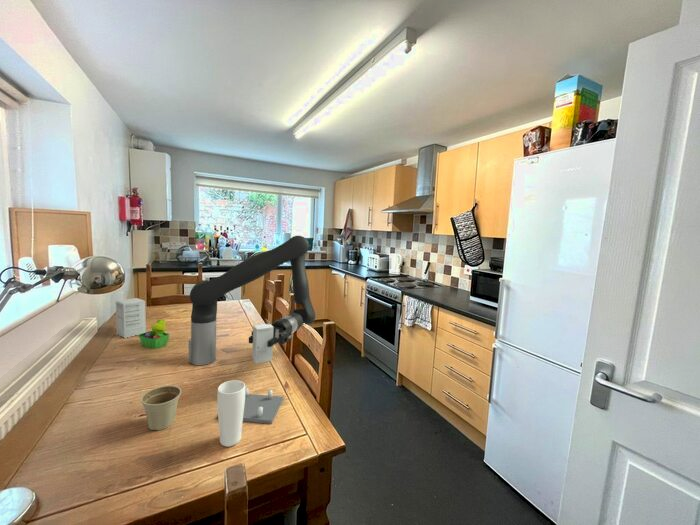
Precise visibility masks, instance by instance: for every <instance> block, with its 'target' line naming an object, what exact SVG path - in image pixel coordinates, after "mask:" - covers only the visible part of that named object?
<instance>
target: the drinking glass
mask: <svg viewBox="0 0 700 525" xmlns="http://www.w3.org/2000/svg"><path fill="white" fill-rule="evenodd" d="M245 388H246V384H245V382H243V381H242V380H237V379H236V380H232V379H231V380H228V381H227V380H226V381H225V382H222V383H221V384H219V386H218V387H217V392H216V394H217V395H216V404H217V405H216V406H217V407H216V408H217V419H218V420H217V421H218V430H219V443H220V445H221V446H223V447H228V448H229V447H233V446H235V445H237V444H238V443H240V441H241V439H242V434H243V423H244V421H243V415H244V406H245Z"/></svg>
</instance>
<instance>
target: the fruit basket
mask: <svg viewBox="0 0 700 525" xmlns="http://www.w3.org/2000/svg"><path fill="white" fill-rule="evenodd" d="M166 325H167V323H166V321H165V319H162V318H161V319H160V318H159V319H158V320H157V321H156V323H153V325H151V329H152V330H150V331H149V330H148V331H146V333H142V334H139V335H137V336H138V338H139V339H140V342H141V346H143V345H145V346H144V347H147V348H150V349H153V348H154V349H153V350H156V349H160V348H163V347H165V346H167V345H168V340H169V337H170V336H171V335H170V333H167V332H165V331H166V329H167V328H166V327H167V326H166Z"/></svg>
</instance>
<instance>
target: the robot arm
mask: <svg viewBox="0 0 700 525" xmlns="http://www.w3.org/2000/svg"><path fill="white" fill-rule="evenodd" d="M309 248H310V243H309V241H308V239H307V238H306V237H305V236H302V235H294V236H291V237H290V238H289V239H288V240H286V241H285V242H283V243H281V244H280V245H278V246H277V247H274V248H273V249H272V248H271V249H269V250H266V251H263V252H261V253H258V254H255V255H253V256H251V257H249V258H246V259H244V260H242V261H241V262H239V263H237V264H236V265H235V266H233V267H231V268H230V269H229V270H227V271H226V272H224V273H223V274H221V275H220V276H217V277H215V278H213V279H210V280H204V279H203V280H201V281H198V282H196V283H195V284H194V285H193V287H192V288H191V289H190V292H189V301H191V303H192V309H191V314H190V339H188V363H190V364H192V365H194V366H205V365H209V364H212V363H214V362H215V361H216V359H217V313H218V299H219V298H221V297H223V296H225V295H226V294H228V293H229V292H232V291H234V290H236V289H238V288H242V287H243V286H245V285H248V284H249V283H252V282H254V281H256V280H258V279H260V278H261V277H264V276H265V275H267V274H269V273H271V272H272V271H273V270H275V269H277V268H278V267H279V266H281V265H283V264H285V263H287V262H289V263H290V266H291V276H292V293H293V301H294V303H295V304H298V305H300V306H302V307H301V308H302V309H299V310H297V309H298V308H295V309H293V310H292V311H291V312H290V313H289V315H288V314H287V315H286V316H283V317H281V318H279V319H278V320H275V321H273V322H272V323H271V325H272V326H273V327H274V330H273V338H272V339H270V340H269V341H268V343H267V347H271V346H275V345H278V344H280V345H284V344H286V343H288V342H289V341H291V340H292V335H293V333H295V332H296V331H298V330H300V328H301V327H302V326H303V325H312V324H313V323H314V322H315V320H316V311H315V308H314V307H313V306H314V305H313V303H312V301H311V297H310V285H309V279H308V275H307V270H306V263H305V262H306V261H305V260H306V254H307V253H308V251H309ZM303 300H304V301H303ZM303 323H305V324H303ZM248 343H249V344H253V330H251V335H250V336H249V337H248Z"/></svg>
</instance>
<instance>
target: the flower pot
mask: <svg viewBox="0 0 700 525" xmlns="http://www.w3.org/2000/svg"><path fill="white" fill-rule="evenodd" d="M181 394H182V389H181V388H180V387H179V386H177V385H163V386H158V387H155V388H152V389H150V390H148V391H146V392H144V394H143V395H142V396H141V398H140V403H141V404H142V405H143V407H144V410H145V415H146V422H147V428H148V429H149V430H151V431H161V430H164V429H168V428H169V427H171V426H172V424H173V423H174V422H175V419H176V414H177V408H178V401H179V399H180V396H181Z"/></svg>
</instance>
